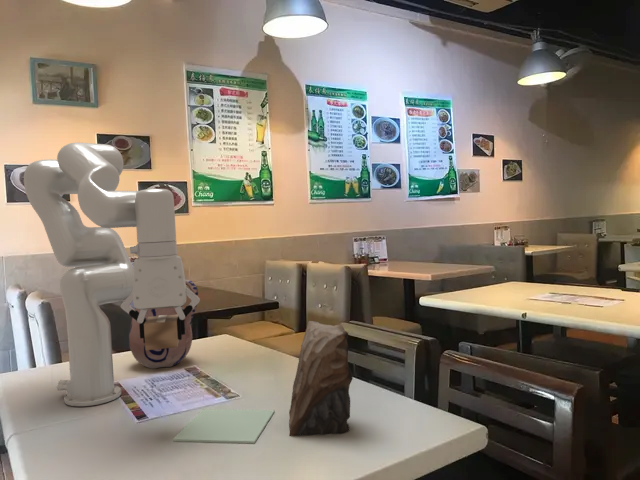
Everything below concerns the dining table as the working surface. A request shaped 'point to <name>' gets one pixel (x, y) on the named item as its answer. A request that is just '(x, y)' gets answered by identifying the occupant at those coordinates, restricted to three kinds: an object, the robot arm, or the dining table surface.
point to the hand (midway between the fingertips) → (163, 339)
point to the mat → (225, 426)
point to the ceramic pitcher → (166, 355)
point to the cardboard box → (161, 332)
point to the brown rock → (321, 383)
